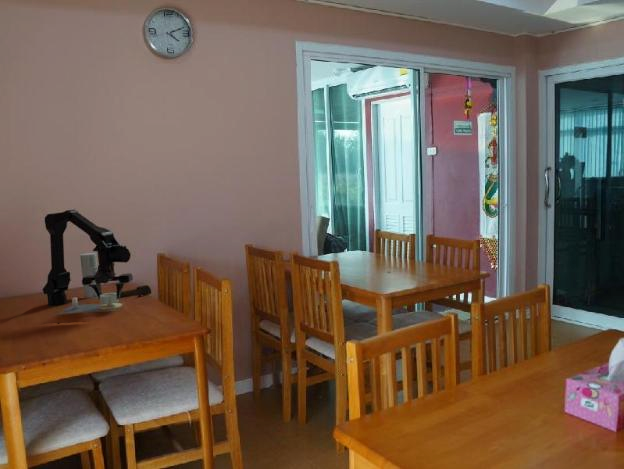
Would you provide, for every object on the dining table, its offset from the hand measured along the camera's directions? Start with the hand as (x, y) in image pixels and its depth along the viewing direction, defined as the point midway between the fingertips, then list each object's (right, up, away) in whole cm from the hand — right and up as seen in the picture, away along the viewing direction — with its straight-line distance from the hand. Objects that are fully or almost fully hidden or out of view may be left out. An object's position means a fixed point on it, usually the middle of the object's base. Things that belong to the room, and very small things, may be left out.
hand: (109, 300), depth 230 cm
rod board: (-7, -4, 0) cm, 8 cm away
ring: (0, -1, 0) cm, 1 cm away
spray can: (-16, -2, +24) cm, 29 cm away
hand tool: (+1, -2, +22) cm, 22 cm away
